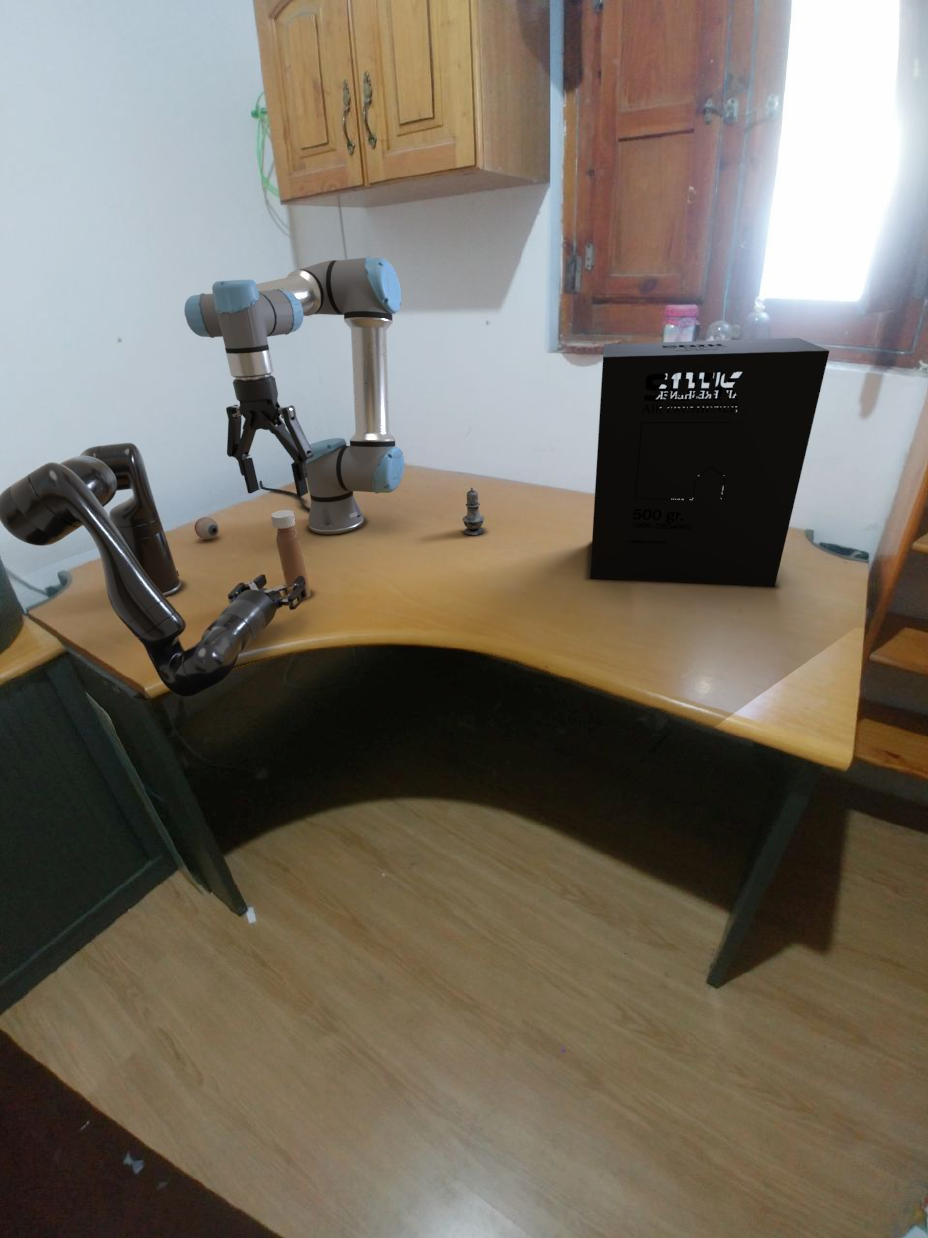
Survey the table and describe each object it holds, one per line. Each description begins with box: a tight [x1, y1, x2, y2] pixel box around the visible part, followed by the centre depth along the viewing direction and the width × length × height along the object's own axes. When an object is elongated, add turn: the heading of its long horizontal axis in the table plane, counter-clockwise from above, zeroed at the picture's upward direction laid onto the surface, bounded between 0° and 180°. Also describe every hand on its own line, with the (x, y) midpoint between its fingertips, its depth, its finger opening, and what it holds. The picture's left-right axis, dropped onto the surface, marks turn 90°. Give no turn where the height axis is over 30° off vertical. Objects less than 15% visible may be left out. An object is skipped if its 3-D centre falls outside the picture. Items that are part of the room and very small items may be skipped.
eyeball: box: [194, 516, 220, 541], centre depth 163 cm, size 6×6×6 cm
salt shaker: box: [461, 487, 485, 536], centre depth 157 cm, size 6×6×12 cm
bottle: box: [275, 526, 311, 601], centre depth 128 cm, size 5×5×19 cm
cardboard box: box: [589, 337, 830, 587], centre depth 126 cm, size 38×20×45 cm, turn 78°
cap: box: [270, 509, 296, 529], centre depth 124 cm, size 4×4×2 cm
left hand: (283, 578), depth 125 cm, fingers open, 8 cm apart
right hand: (277, 493), depth 121 cm, fingers open, 11 cm apart
